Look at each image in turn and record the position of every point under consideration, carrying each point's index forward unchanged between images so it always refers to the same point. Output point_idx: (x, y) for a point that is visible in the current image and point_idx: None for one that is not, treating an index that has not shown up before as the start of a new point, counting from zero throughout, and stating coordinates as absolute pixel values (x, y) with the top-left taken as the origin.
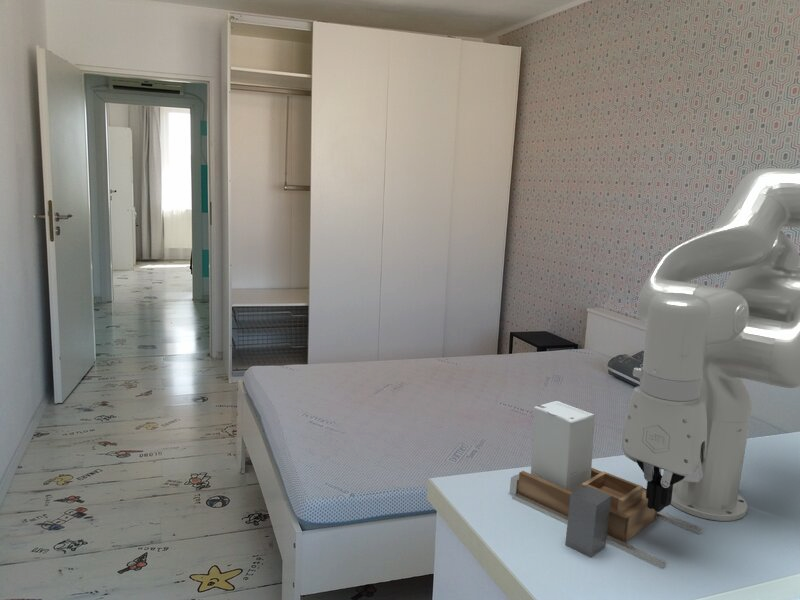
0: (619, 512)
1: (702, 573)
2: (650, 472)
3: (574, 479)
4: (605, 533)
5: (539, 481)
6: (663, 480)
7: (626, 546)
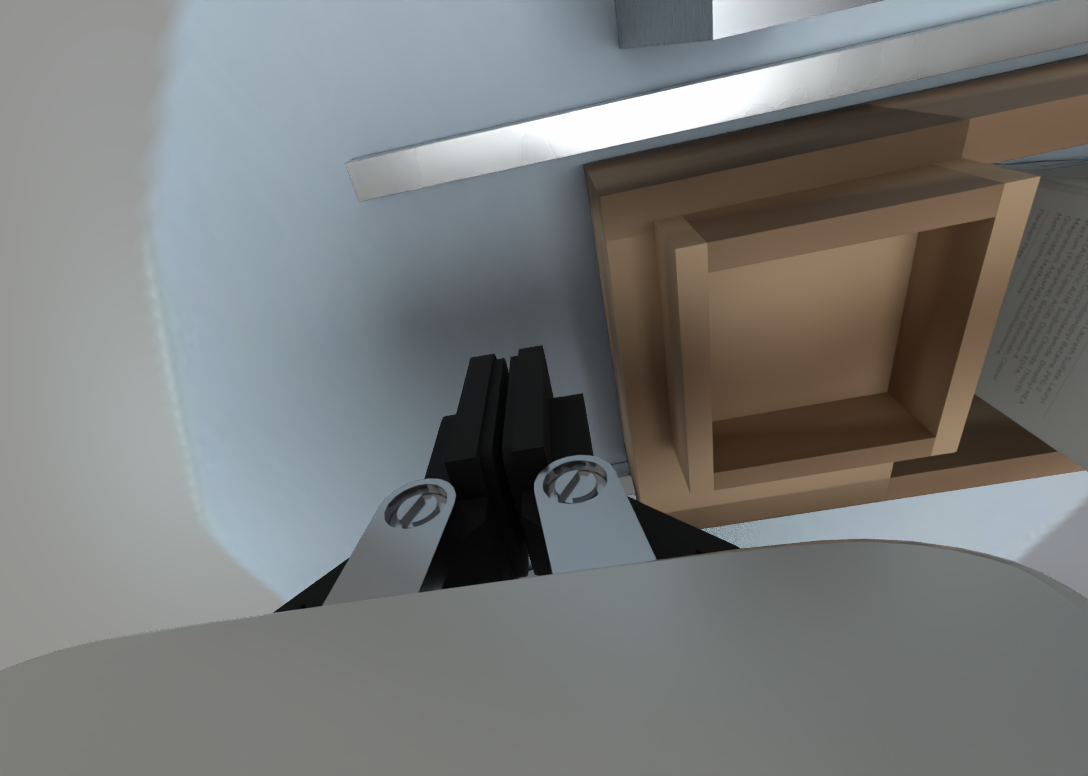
0: (666, 219)
1: (282, 300)
2: (562, 526)
3: (1082, 272)
4: (634, 23)
5: None
6: (435, 525)
7: (540, 132)
